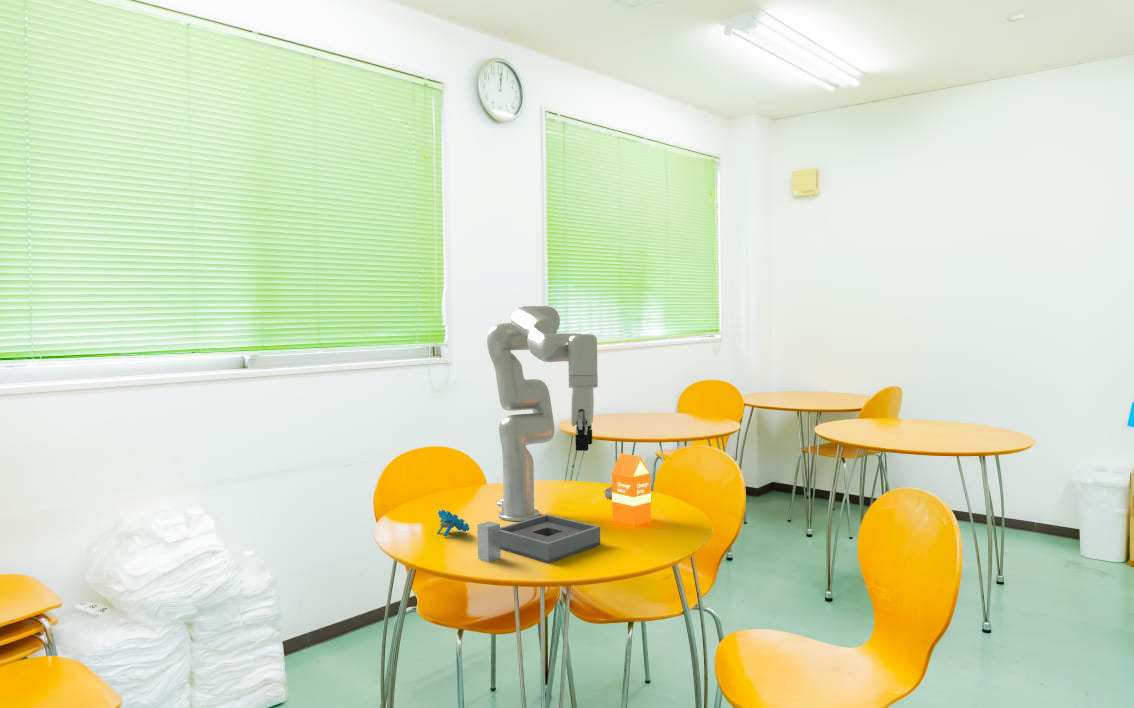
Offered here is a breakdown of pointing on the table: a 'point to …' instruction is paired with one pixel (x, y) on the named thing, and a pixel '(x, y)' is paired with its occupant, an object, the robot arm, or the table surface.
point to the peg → (489, 541)
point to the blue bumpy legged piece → (451, 522)
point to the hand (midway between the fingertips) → (584, 447)
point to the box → (549, 538)
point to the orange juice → (631, 491)
